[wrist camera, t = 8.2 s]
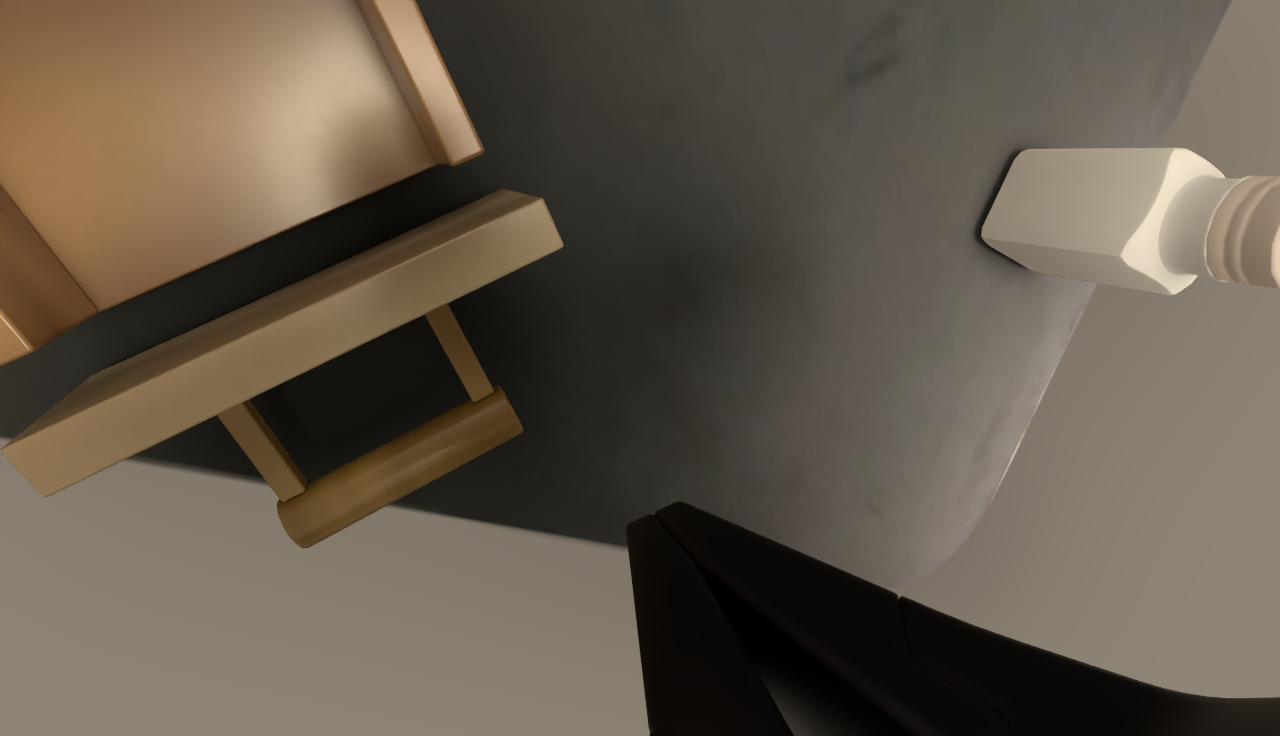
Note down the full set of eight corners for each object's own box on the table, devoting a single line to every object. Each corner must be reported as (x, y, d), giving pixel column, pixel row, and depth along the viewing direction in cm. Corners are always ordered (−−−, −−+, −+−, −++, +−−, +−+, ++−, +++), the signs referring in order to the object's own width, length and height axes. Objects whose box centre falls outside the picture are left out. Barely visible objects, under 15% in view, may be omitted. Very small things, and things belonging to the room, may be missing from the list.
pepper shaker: (1014, 142, 27) (1318, 137, 18) (1073, 184, 28) (1375, 197, 20) (969, 239, 27) (1243, 277, 19) (1029, 274, 29) (1305, 324, 20)
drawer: (580, 353, 21) (633, 402, 17) (223, 539, 19) (183, 649, 15) (245, -371, 14) (195, -596, 10) (-392, -212, 12) (-815, -417, 8)
